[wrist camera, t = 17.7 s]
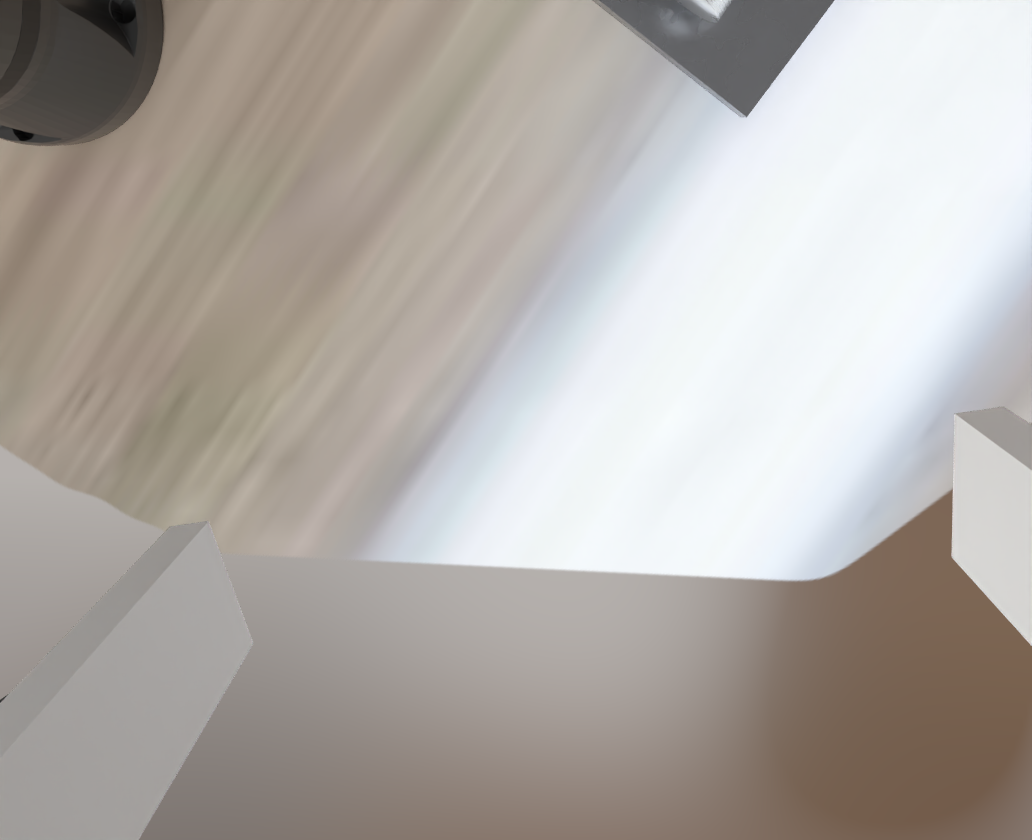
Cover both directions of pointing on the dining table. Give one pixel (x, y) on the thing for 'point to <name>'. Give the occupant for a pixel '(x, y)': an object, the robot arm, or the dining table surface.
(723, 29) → the valve pipe
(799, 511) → the dining table surface
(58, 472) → the dining table surface
